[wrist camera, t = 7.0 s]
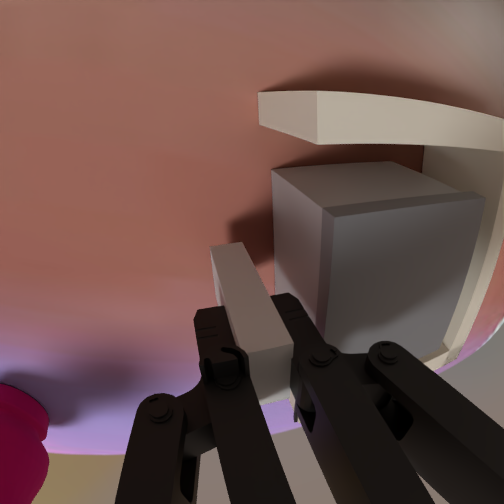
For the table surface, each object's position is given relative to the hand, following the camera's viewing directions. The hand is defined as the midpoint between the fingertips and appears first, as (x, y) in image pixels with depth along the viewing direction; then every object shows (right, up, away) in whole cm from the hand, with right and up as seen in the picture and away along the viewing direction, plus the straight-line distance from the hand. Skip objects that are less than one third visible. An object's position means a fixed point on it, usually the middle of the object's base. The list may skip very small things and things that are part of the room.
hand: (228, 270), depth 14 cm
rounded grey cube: (+6, +2, +2) cm, 6 cm away
